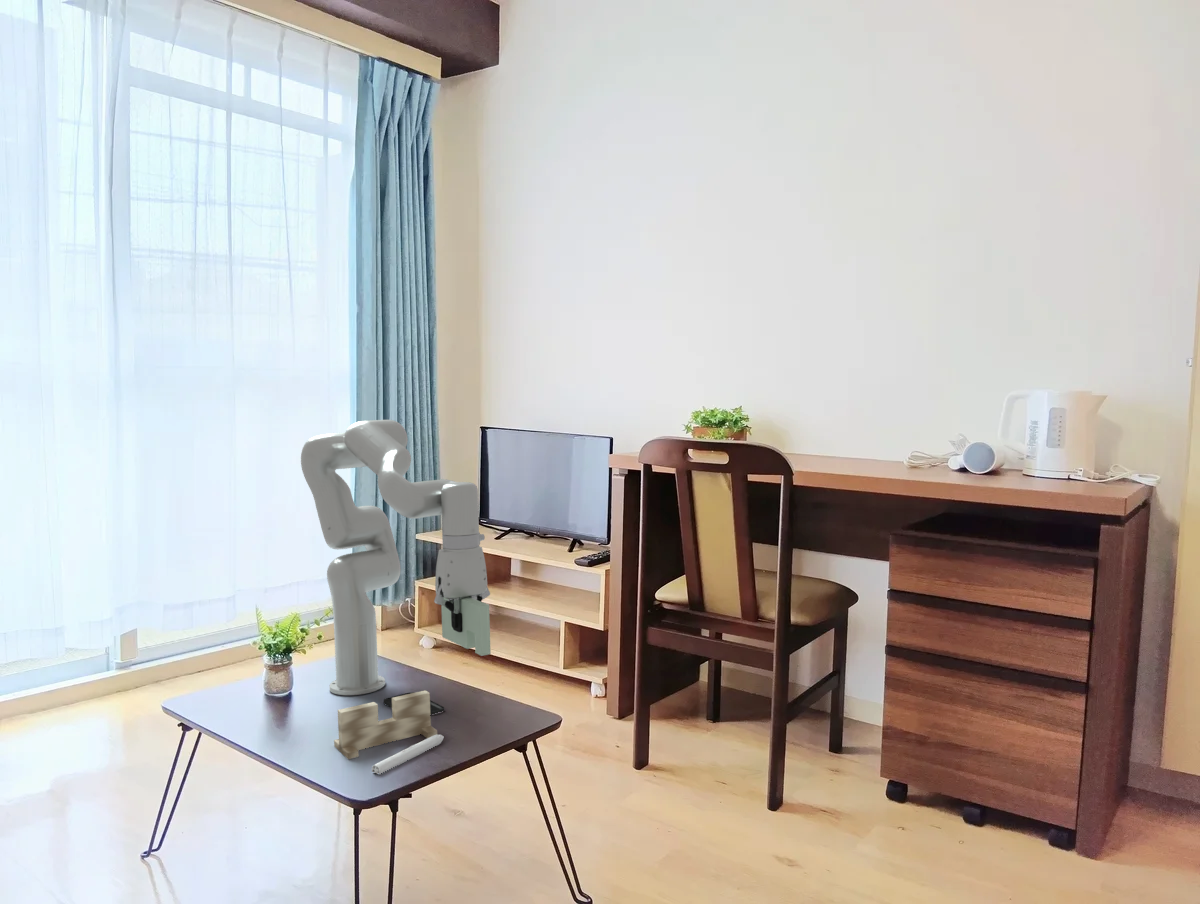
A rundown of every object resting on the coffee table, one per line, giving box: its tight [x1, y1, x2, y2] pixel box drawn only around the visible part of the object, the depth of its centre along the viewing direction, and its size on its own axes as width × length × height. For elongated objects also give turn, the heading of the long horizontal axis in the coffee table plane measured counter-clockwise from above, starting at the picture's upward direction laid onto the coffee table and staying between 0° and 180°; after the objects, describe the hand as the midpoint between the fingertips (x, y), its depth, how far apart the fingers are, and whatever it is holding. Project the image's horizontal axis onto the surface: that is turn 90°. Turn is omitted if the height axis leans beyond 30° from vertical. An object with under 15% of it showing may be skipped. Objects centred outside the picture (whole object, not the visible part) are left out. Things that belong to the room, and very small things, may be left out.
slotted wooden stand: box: [333, 690, 438, 760], centre depth 171 cm, size 18×8×8 cm, turn 125°
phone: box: [383, 691, 445, 715], centre depth 190 cm, size 8×1×15 cm
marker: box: [371, 734, 445, 775], centre depth 163 cm, size 18×2×2 cm, turn 148°
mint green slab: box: [441, 597, 492, 657], centre depth 180 cm, size 18×2×10 cm, turn 36°
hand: (463, 629), depth 181 cm, fingers closed on mint green slab, 2 cm apart
